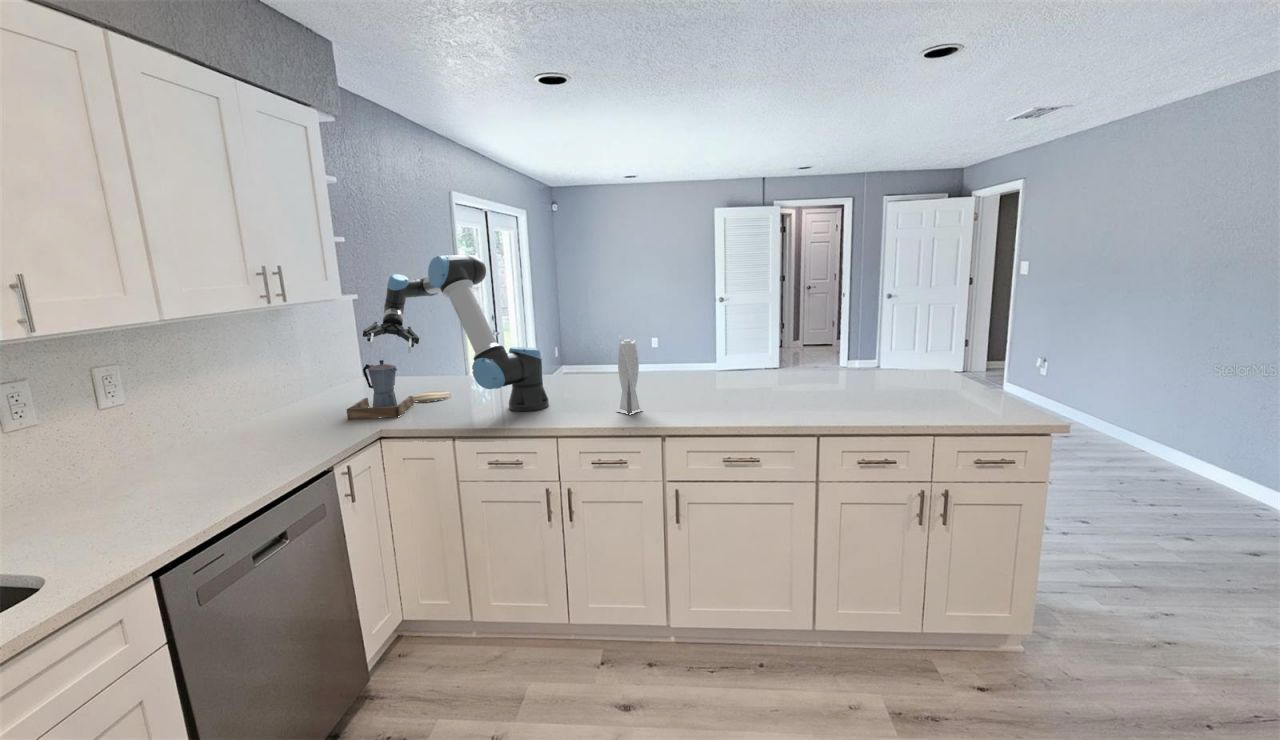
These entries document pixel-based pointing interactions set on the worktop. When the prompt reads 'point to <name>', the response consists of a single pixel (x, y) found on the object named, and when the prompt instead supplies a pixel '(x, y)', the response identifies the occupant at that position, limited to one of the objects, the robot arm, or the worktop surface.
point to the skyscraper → (628, 375)
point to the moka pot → (382, 384)
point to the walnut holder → (377, 409)
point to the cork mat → (431, 396)
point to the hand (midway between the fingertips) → (390, 347)
